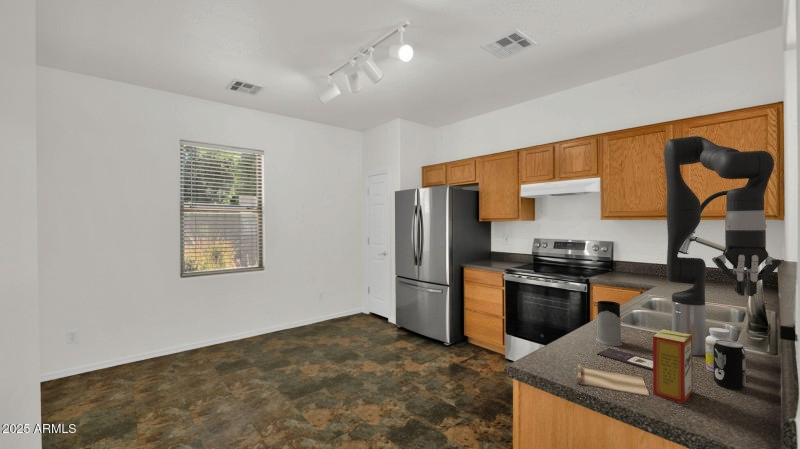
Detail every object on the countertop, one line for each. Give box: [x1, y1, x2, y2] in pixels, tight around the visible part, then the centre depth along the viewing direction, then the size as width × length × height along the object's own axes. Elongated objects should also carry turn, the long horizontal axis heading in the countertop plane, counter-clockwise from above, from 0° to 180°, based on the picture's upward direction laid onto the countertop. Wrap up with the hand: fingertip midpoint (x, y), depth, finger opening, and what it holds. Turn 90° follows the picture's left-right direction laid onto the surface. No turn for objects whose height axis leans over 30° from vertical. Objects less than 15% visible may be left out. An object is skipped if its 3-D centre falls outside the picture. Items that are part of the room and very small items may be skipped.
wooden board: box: [577, 362, 650, 397], centre depth 103 cm, size 12×17×2 cm
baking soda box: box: [652, 328, 694, 404], centre depth 95 cm, size 10×6×16 cm
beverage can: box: [713, 340, 747, 391], centre depth 99 cm, size 7×7×12 cm
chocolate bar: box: [596, 347, 653, 372], centre depth 118 cm, size 9×1×18 cm
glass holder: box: [595, 300, 623, 347], centre depth 138 cm, size 9×14×15 cm, turn 143°
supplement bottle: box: [705, 327, 734, 373], centre depth 108 cm, size 7×7×13 cm
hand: (745, 295), depth 91 cm, fingers closed
